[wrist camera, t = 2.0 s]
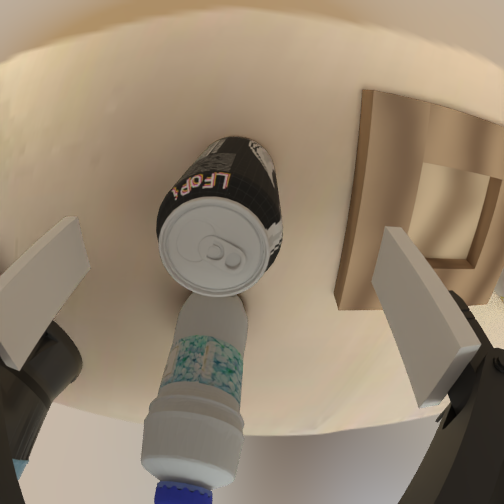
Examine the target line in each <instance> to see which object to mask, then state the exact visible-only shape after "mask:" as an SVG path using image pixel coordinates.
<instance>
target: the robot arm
mask: <svg viewBox="0 0 504 504" xmlns="http://www.w3.org/2000/svg"><path fill="white" fill-rule="evenodd" d="M90 269H91V267H90V263H89V260H88V256H87V252H86V248H85V245H84V241H83V237H82V232H81V228H80V224H79V219H78V216H65V217H64V218H63V219H62V220H60V221H59V222H58V223H57V224H56V225H54V226H53V227H52V228H51V229H50V230H49V231H47V232H46V233H45V234H44V235H43V236H42V237H41V238H40V239H38V240H37V241H36V242H35V243H34V244H33V245H32V246H31V247H30V248H29V249H27V250H26V251H25V252H24V253H23V254H22V255H21V256H20V257H19V258H18V259H17V260H16V261H15V262H14V263H13V264H12V265H11V266H10V267H9V268H8V269H7V270H6V271H5V272H4V273H3V274H2V275H1V276H0V504H25V502H24V499H23V496H22V492H21V489H20V486H19V483H18V480H19V478H20V477H21V474H22V472H23V470H24V468H25V466H26V464H28V462H29V456H30V453H31V450H32V448H33V445H34V443H35V441H36V438H37V436H38V433H39V431H40V428H41V426H42V424H43V421H44V419H45V417H46V415H47V412H48V410H49V408H50V406H51V404H52V402H53V400H54V399H55V398H56V397H57V396H58V395H59V394H60V393H61V392H62V391H63V390H64V389H65V388H66V387H67V386H68V385H69V384H70V383H72V382H73V381H75V380H76V379H77V377H78V375H79V373H80V371H81V369H82V358H81V355H80V353H79V351H78V349H77V347H76V346H75V344H74V343H73V341H72V340H71V339H70V337H69V336H68V335H67V334H66V333H65V331H64V330H63V329H62V328H61V327H60V326H59V325H58V324H57V323H55V322H54V321H53V319H54V317H55V316H56V314H57V313H58V312H59V310H60V309H61V307H62V306H63V305H64V303H65V302H66V300H67V299H68V298H69V296H70V295H71V294H72V292H73V291H74V290H75V288H76V287H77V286H78V284H79V283H80V282H81V280H82V279H83V278H84V277H85V275H86V274H87V273H88V271H89V270H90ZM371 282H372V285H373V287H374V289H375V292H376V294H377V296H378V299H379V301H380V303H381V306H382V308H383V311H384V313H385V315H386V318H387V320H388V323H389V325H390V328H391V330H392V333H393V336H394V338H395V341H396V343H397V346H398V349H399V351H400V354H401V357H402V360H403V362H404V365H405V368H406V371H407V374H408V377H409V379H410V382H411V385H412V388H413V391H414V394H415V398H416V401H417V404H418V407H419V408H424V407H430V406H435V405H439V404H440V402H441V401H442V400H443V399H444V397H445V396H446V395H447V394H448V396H449V398H450V401H451V402H450V404H449V405H448V406H447V407H446V408H445V410H444V411H443V412H442V413H441V414H440V415H439V417H438V418H437V419H436V422H439V421H440V419H441V418H442V420H441V422H440V425H439V427H438V429H437V431H436V434H435V436H434V438H433V440H432V442H431V444H430V447H429V449H428V451H427V453H426V455H425V457H424V459H423V461H422V463H421V464H420V466H419V468H418V470H417V472H416V474H415V476H414V477H413V479H412V481H411V483H410V485H409V486H408V488H407V490H406V491H405V493H404V495H403V496H402V498H401V499H400V501H399V502H398V504H504V350H503V349H500V348H493V346H492V344H491V343H490V341H489V339H488V338H487V336H486V334H485V333H484V331H483V330H482V328H481V326H480V325H479V323H478V322H477V320H475V317H474V315H473V314H472V312H471V311H469V310H470V309H469V308H468V306H467V305H466V303H465V302H464V300H463V299H462V298H461V297H460V296H459V295H457V294H456V293H455V292H454V291H453V290H447V288H446V287H445V285H444V284H443V283H442V281H441V280H440V278H439V277H438V275H437V274H436V273H435V271H434V270H433V268H432V267H431V266H430V264H429V263H428V261H427V260H426V259H425V257H424V256H423V255H422V253H421V252H420V251H419V249H418V248H417V247H416V245H415V244H414V243H413V242H412V240H411V239H410V238H409V236H408V235H407V234H406V233H405V231H404V230H403V229H402V228H401V227H390V226H385V229H384V233H383V238H382V242H381V246H380V250H379V254H378V258H377V262H376V266H375V270H374V274H373V277H372V281H371Z"/></svg>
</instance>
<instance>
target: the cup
mask: <svg viewBox="0 0 504 504" xmlns="http://www.w3.org/2000/svg"><path fill="white" fill-rule="evenodd" d="M494 290H495V292H496V294H497V295H498V296H499V298H500V299H501V300H502V301H503V303H504V268H503V270H502V272H501V275H500V277H499V279H498V282H497V284H496V286H495V288H494Z"/></svg>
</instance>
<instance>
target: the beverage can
mask: <svg viewBox="0 0 504 504" xmlns="http://www.w3.org/2000/svg"><path fill="white" fill-rule="evenodd" d="M156 233H157V238H158V243H159V253H160V257H161V260H162V262H163V265H164V267H165V268H166V270H167V271H168V273H169V274H170V275H171V276H172V277H173V279H174V280H175V281H176V282H178V283H179V284H181V285H182V286H183V287H185V288H187V289H188V290H190V291H192V292H195V293H198V294H201V295H204V296H210V297H226V296H232V295H236V294H239V293H242V292H243V291H245V290H247V289H249V288H251V287H252V286H253V285H254V284H255V283H257V282H258V280H259V279H260V278H261V277H262V276H263V274H264V272H266V271H267V270H268V268H269V267H270V266H271V265H272V263H273V262H274V260H275V258H276V257H277V255H278V253H279V250H280V247H281V243H282V238H283V224H282V216H281V209H280V202H279V195H278V187H277V181H276V174H275V168H274V164H273V161H272V159H271V157H270V155H269V154H268V152H267V151H266V150H265V149H264V148H263V147H262V146H261V145H259V144H258V143H256V142H255V141H253V140H250V139H247V138H243V137H227V138H223V139H220V140H218V141H216V142H214V143H213V144H211V145H210V146H209V147H208V148H207V149H206V150H205V151H204V152H203V153H202V154H201V155H200V157H199V158H198V159H197V160H196V161H195V162H194V163H193V164H192V166H191V167H190V168H189V169H188V170H187V171H186V172H185V174H184V175H183V176H182V177H181V178H180V179H179V181H178V182H177V183H176V184H175V185H174V186H173V188H172V189H171V190H170V191H169V192H168V194H167V195H166V196H165V198H164V200H163V202H162V204H161V206H160V209H159V212H158V216H157V227H156Z"/></svg>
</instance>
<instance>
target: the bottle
mask: <svg viewBox="0 0 504 504" xmlns="http://www.w3.org/2000/svg"><path fill="white" fill-rule="evenodd" d="M247 331H248V318H247V315H246V312H245V310H244V307H243V303H242V301H241V299H240V298H239V297H238V296H237V295H232V296H226V297H210V296H204V295H201V294H198V293H195V292H193V293H192V294H191V295H190V296H189V297H188V299H187V300H186V302H185V303H184V305H183V306H182V308H181V310H180V313H179V316H178V320H177V324H176V328H175V334H174V339H173V344H172V347H171V350H170V353H169V357H168V360H167V364H166V367H165V371H164V374H163V378H162V381H161V385H160V388H159V392H158V396H157V398H155V399H154V400H153V401H152V402H151V404H150V406H149V414H148V415H147V417H146V418H145V420H144V433H143V444H142V454H141V463H142V465H143V467H144V468H145V469H146V470H147V471H148V472H149V473H151V474H152V475H153V476H155V477H156V478H157V479H159V480H160V482H159V483H157V487H156V492H155V498H154V503H155V504H212V491H210V490H213V489H216V488H220V487H223V486H226V485H229V484H230V483H232V482H233V481H234V480H235V477H236V472H237V467H238V463H239V459H240V454H241V450H242V446H243V443H244V436H243V431H242V429H243V427H244V421H243V418H242V416H241V414H240V401H241V387H242V373H243V357H244V350H245V345H246V339H247Z"/></svg>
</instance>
